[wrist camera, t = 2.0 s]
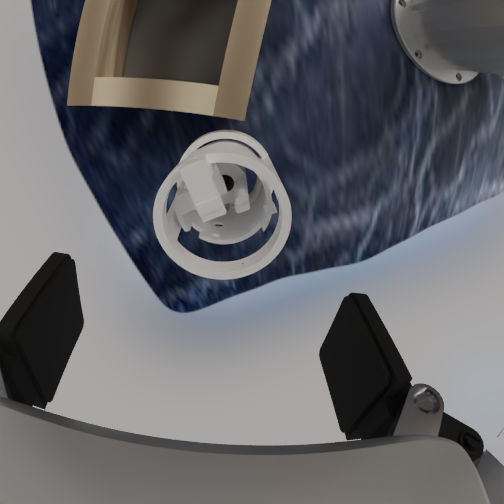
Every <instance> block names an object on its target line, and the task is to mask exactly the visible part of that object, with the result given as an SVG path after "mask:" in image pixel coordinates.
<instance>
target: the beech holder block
mask: <svg viewBox="0 0 504 504" xmlns="http://www.w3.org/2000/svg"><path fill="white" fill-rule="evenodd" d="M270 4H271V0H85V4H84V8H83V12H82V16H81V20H80V24H79V29H78V34H77V39H76V44H75V49H74V55H73V61H72V68H71V75H70V82H69V91H68V100H67V106H116V107H134V108H148V109H159V110H170V111H179V112H187V113H195V114H203V115H210V116H217V117H223V118H230V119H236V120H241V121H244V120H245V115H246V111H247V106H248V101H249V96H250V92H251V87H252V82H253V78H254V73H255V69H256V64H257V60H258V55H259V51H260V46H261V42H262V38H263V33H264V29H265V25H266V21H267V16H268V12H269V8H270Z"/></svg>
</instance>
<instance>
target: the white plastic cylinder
mask: <svg viewBox="0 0 504 504" xmlns="http://www.w3.org/2000/svg"><path fill="white" fill-rule="evenodd" d="M216 139H235V140H239V141H241V142H244V143H246V144H248V145H249V146H251V147H252V148H253V149H255V150H256V151H257V152H258V154H259V155H260V156H258V157H257V155H256V154H255V153H254V152H253V151H252V150H251V149H250V148H249V147H247V146H246V145H244V144H242V143H240V142H237V141H233V140H219V141H215V142H212V143H209V144H207V145H206V146H204V147H202V148H200V149H198V148H199V147H200V146H202V145H203V144H205V143H207V142H210V141H212V140H216ZM196 149H197V150H196ZM245 167H246V168H249V169H251V170H253V171H254V172H255V173H256V174H257V181H256V185H255V187H254V189H253V191H252V192H251V193H250V195H248V187H247V179H246V171H245ZM176 182H177V188H178V190H177V192H176V195H175V198H174V200H173V202H172V205H171V207H170V209H169V211H168V213H166V206H167V199H168V195H169V192H170V190H171V188H172V186H173V185H174V184H175V183H176ZM273 190H274V192H275V195H276V197H277V200H278V203H279V218H278V223H277V226H276V229H275V231H274V233H273V235H272V236H271V238H270V239H269V241H268V242H267V243H266V244H265V245H264V246H263V247H262V248H261V249H260V250H258V251H257V252H255V253H254V254H252V255H250V256H248V257H246V258H243V259H240V260H236V261H230V262H216V261H210V260H206V259H203V258H200V257H198V256H196V255H194V254H192V253H191V252H189V251H188V250H186V249H185V248H184V247H183V246H182V245H181V244H180V243H179V242H178V241H177V239H178V236H179V233H180V230H181V227H182V228H183V229H184V231H185V232H187V231H190V229H191V226H192V227H193V228H195V229H196V230H197V231H199V232H200V234H199V238H200V239H202V240H205V241H207V242H211V243H215V244H232V243H237V242H240V241H243V240H245V239H247V238H249V237H250V236H252V235H253V234H255V233H256V232H257V231H258V230H259V229H260V228H261V227H262V229H263V232H264V231H265V229H266V228H267V226H268V224H269V222H270V219H271V215H272V214H274V213H277V210H276V207H275V204H274V202H272V196H271V194H272V191H273ZM224 204H229V205H224ZM291 221H292V213H291V205H290V201H289V198H288V195H287V193H286V191H285V188H284V186H283V184H282V182H281V180H280V178H279V176H278V174H277V172H276V170H275V168H274V166H273V164H272V162H271V160H270V158H269V156H268V154H267V152H266V150H265V149H264V148H263V146H262V145H261V144H260V143H259V142H258V141H257V140H255V139H254V138H252V137H251V136H249V135H247V134H245V133H242V132H239V131H235V130H217V131H213V132H210V133H207V134H205V135H203V136H201V137H199V138H198V139H197V140H195V141H194V142H193V143H192V144H191V145H190V146H189V147H188V149H187V150H186V151H185V153H184V154H183V156H182V158H181V160H180V162H179V164H178V165H177V166H176V167H175V168H174V169H173V170H172V171H171V172H170V174H169V175H168V176H167V178H166V179H165V181H164V182H163V184H162V185H161V187H160V189H159V191H158V193H157V196H156V199H155V203H154V208H153V223H154V229H155V232H156V236H157V238H158V240H159V243H160V244H161V246H162V248H163V249H164V251H165V252H166V253H167V255H168V256H169V257H170V258H171V259H172V260H173V261H174V262H175V263H177V264H178V265H179V266H181V267H182V268H184V269H185V270H187V271H189V272H191V273H193V274H196V275H198V276H201V277H205V278H210V279H219V280H226V279H236V278H240V277H244V276H247V275H250V274H252V273H255V272H257V271H259V270H260V269H262V268H263V267H265V266H266V265H268V264H269V263H270V262H271V261H272V260H273V259H274V258H275V257H276V256H277V255H278V254H279V252H280V251H281V250H282V248H283V246H284V245H285V243H286V241H287V238H288V236H289V232H290V228H291ZM214 224H221V225H223V226H221V227H219V226H215V225H214Z"/></svg>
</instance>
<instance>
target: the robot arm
mask: <svg viewBox="0 0 504 504" xmlns="http://www.w3.org/2000/svg"><path fill="white" fill-rule="evenodd" d="M391 19H392V25H393V28H394V31H395V34H396V37H397V39H398V41H399V43H400V45H401V47H402V48H403V50H404V51H405V53H406V54H407V56H408V57H409V58H410V60H411V61H412V62H413V63H414V64H415V65H416V66H417V67H418V68H419V69H420V70H421V71H422V72H423V73H425V74H427V75H428V76H430V77H431V78H433V79H435V80H438V81H440V82H444V83H449V84H462V83H466V82H468V81H470V80H472V79H473V78H475V77H476V76H477V75H478V73H479V72H482V73H491V74H497V76H498V77H499V78H501V79H502V80H503V81H504V0H391ZM415 54H416V55H415ZM83 324H84V319H83V314H82V308H81V302H80V295H79V289H78V282H77V274H76V266H75V261H74V260H73V259H71V257H70V255H69V254H64V253H58V252H54V253H53V254H52V255H51V256H50V257H49V258H48V260H47V261H46V262H45V263H44V264H43V265H42V267H41V268H40V269H39V270H38V272H37V273H36V274H35V275H34V277H33V278H32V279H31V280H30V282H29V283H28V284H27V286H26V287H25V288H24V290H23V291H22V292H21V293H20V295H19V296H18V298H17V299H16V300H15V302H14V303H13V304H12V306H11V307H10V308H9V310H8V311H7V313H6V314H5V316H4V317H3V319H2V320H1V322H0V504H504V466H503V465H502V464H501V463H500V462H499V461H498V460H497V459H496V458H495V457H494V456H493V455H492V454H491V453H490V452H489V451H487V450H486V451H484V452H483V448H484V445H483V441H482V439H481V436H480V435H479V434H478V433H477V432H476V431H475V430H474V429H472V428H470V427H469V426H467V425H465V424H463V423H462V422H460V421H458V420H456V419H455V418H453V417H451V416H450V415H448V414H446V413H444V412H443V411H444V402H443V399H442V397H441V396H440V394H439V393H438V392H437V391H436V390H435V389H434V388H432V387H431V386H429V385H426V384H415V385H414V386H412V385H411V383H410V381H411V380H412V377H411V375H410V373H409V371H408V369H407V367H406V365H405V363H404V361H403V359H402V357H401V355H400V353H399V352H398V350H397V348H396V346H395V344H394V342H393V340H392V338H391V337H390V335H389V333H388V331H387V329H386V328H385V326H384V324H383V322H382V321H381V319H380V317H379V315H378V313H377V311H376V310H375V308H374V306H373V304H372V303H371V301H370V299H369V297H368V296H367V295H366V294H360V293H350V294H349V295H348V296H346V297H344V299H343V301H342V303H341V306H340V308H339V310H338V312H337V314H336V317H335V319H334V321H333V323H332V325H331V327H330V329H329V332H328V334H327V336H326V338H325V340H324V342H323V344H322V347H321V349H320V353H319V356H320V361H321V364H322V367H323V371H324V374H325V377H326V381H327V384H328V387H329V391H330V395H331V398H332V402H333V405H334V408H335V412H336V416H337V419H338V423H339V426H340V430H341V431H342V432H343V433H345V435H346V439H347V440H353V439H360V438H361V440H356V441H347V442H335V443H324V444H309V445H284V446H253V445H226V444H211V443H198V442H189V441H180V440H171V439H164V438H157V437H151V436H145V435H140V434H134V433H128V432H124V431H118V430H113V429H109V428H105V427H101V426H96V425H93V424H88V423H85V422H81V421H77V420H74V419H70V418H67V417H63V416H60V415H56V414H53V413H50V412H46V411H43V410H40V409H37V408H34V407H32V406H33V405H34V406H37V407H40V408H43V409H45V408H46V405H47V402H51V401H52V400H53V397H54V395H55V392H56V390H57V387H58V384H59V382H60V379H61V377H62V375H63V372H64V370H65V367H66V365H67V363H68V360H69V357H70V355H71V353H72V351H73V349H74V346H75V344H76V342H77V340H78V338H79V335H80V333H81V331H82V328H83Z"/></svg>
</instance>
